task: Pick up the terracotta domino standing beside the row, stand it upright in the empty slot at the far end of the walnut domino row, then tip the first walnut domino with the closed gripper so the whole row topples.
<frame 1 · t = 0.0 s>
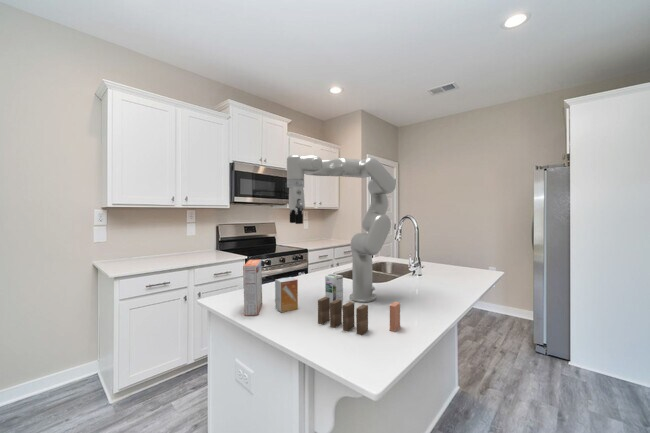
hand: (296, 223, 127), 37 cm above the countertop, tool pointing down, fingers open, 9 cm apart
domino 3: (348, 328, 105), on the countertop
domino 4: (362, 332, 101), on the countertop
cracker box: (253, 310, 125), on the countertop
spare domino: (395, 328, 104), on the countertop
syrup box: (334, 308, 126), on the countertop
small box: (286, 309, 126), on the countertop
domino 1: (323, 322, 111), on the countertop
domino 2: (336, 325, 108), on the countertop
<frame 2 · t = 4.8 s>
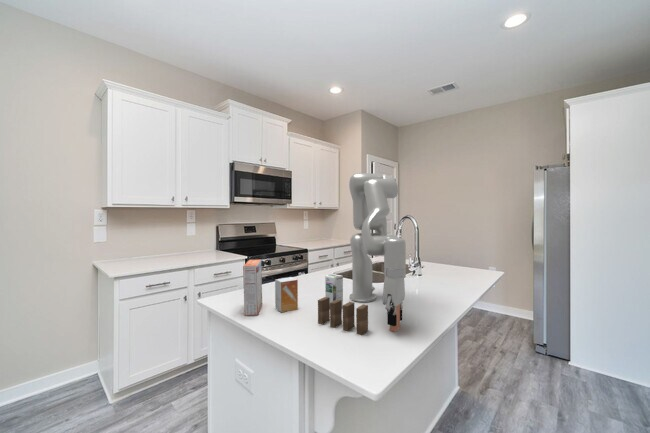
hand: (394, 322, 104), 2 cm above the countertop, tool pointing down, fingers closed on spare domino, 4 cm apart
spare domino: (395, 328, 104), on the countertop, touching gripper
everything else where it was.
when the fingers open (3 cm above the countertop, at t = 10.1 s): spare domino stays where it is, on the countertop.
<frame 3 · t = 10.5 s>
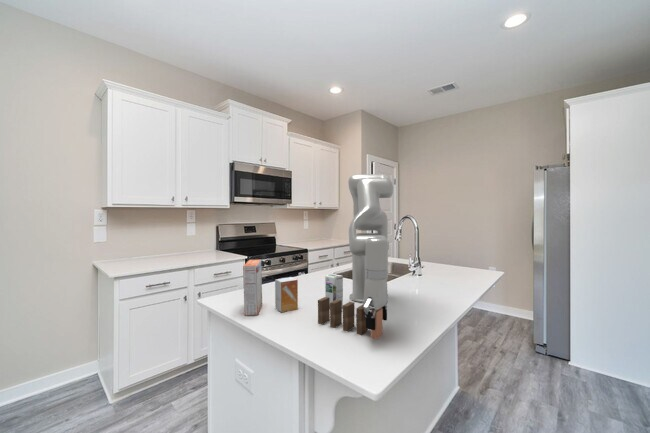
hand: (376, 324, 98), 4 cm above the countertop, tool pointing down, fingers open, 9 cm apart
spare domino: (376, 335, 98), on the countertop
everything else where it was.
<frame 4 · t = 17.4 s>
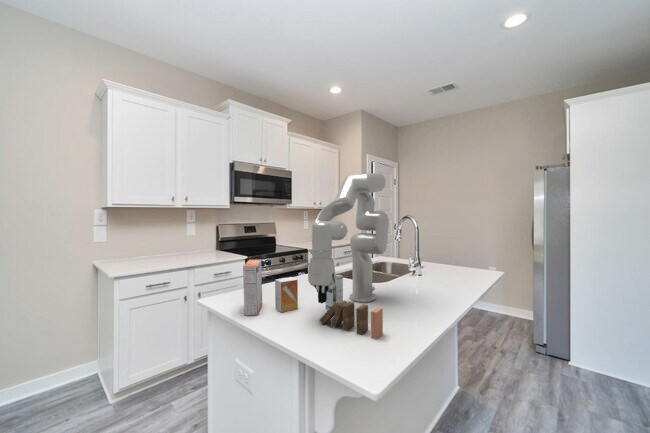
hand: (322, 302, 111), 8 cm above the countertop, tool pointing down, fingers closed
domino 1: (324, 320, 111), point 1 cm above the countertop, tilted 42°
domino 2: (336, 324, 108), on the countertop, tilted 22°
everything else where it was.
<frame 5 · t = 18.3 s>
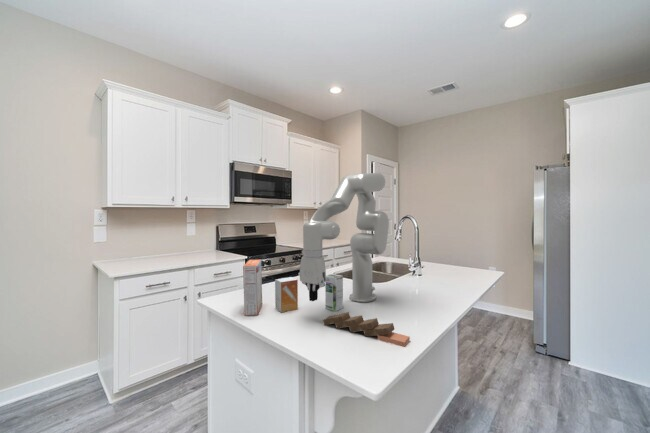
hand: (313, 300, 113), 8 cm above the countertop, tool pointing down, fingers closed
domino 3: (353, 327, 103), point 1 cm above the countertop, tilted 69°, touching domino 4
domino 4: (367, 330, 100), point 1 cm above the countertop, tilted 73°, touching domino 3, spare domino
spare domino: (380, 335, 98), on the countertop, tilted 90°, touching domino 4
domino 1: (327, 320, 110), point 1 cm above the countertop, tilted 69°
domino 2: (339, 323, 107), point 1 cm above the countertop, tilted 69°
everything else where it was.
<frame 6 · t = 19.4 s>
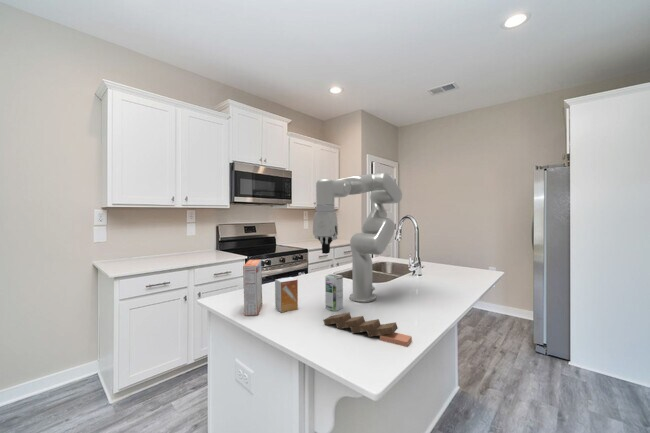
hand: (325, 253, 120), 25 cm above the countertop, tool pointing down, fingers closed
domino 4: (370, 331, 100), point 1 cm above the countertop, tilted 71°, touching domino 3
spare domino: (382, 335, 97), on the countertop, tilted 90°
domino 1: (328, 320, 110), point 1 cm above the countertop, tilted 70°, touching domino 2
domino 2: (340, 323, 107), point 1 cm above the countertop, tilted 70°, touching domino 1
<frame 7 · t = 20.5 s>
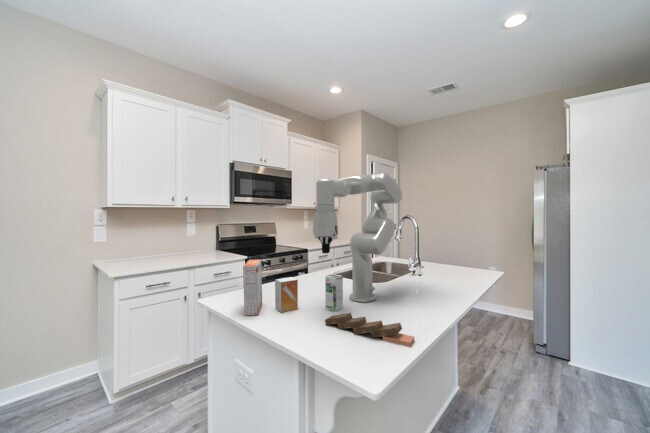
hand: (325, 252, 120), 25 cm above the countertop, tool pointing down, fingers closed
domino 3: (357, 328, 102), point 1 cm above the countertop, tilted 70°, touching domino 2, domino 4
domino 4: (374, 331, 99), point 1 cm above the countertop, tilted 70°, touching domino 3
domino 1: (329, 320, 110), point 1 cm above the countertop, tilted 71°, touching domino 2
domino 2: (342, 323, 106), point 1 cm above the countertop, tilted 72°, touching domino 1, domino 3
everything else where it was.
at the end: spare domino inside the target area (1.6 cm from its centre), on the countertop; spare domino tilted 90°; domino 4 tilted 68° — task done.
